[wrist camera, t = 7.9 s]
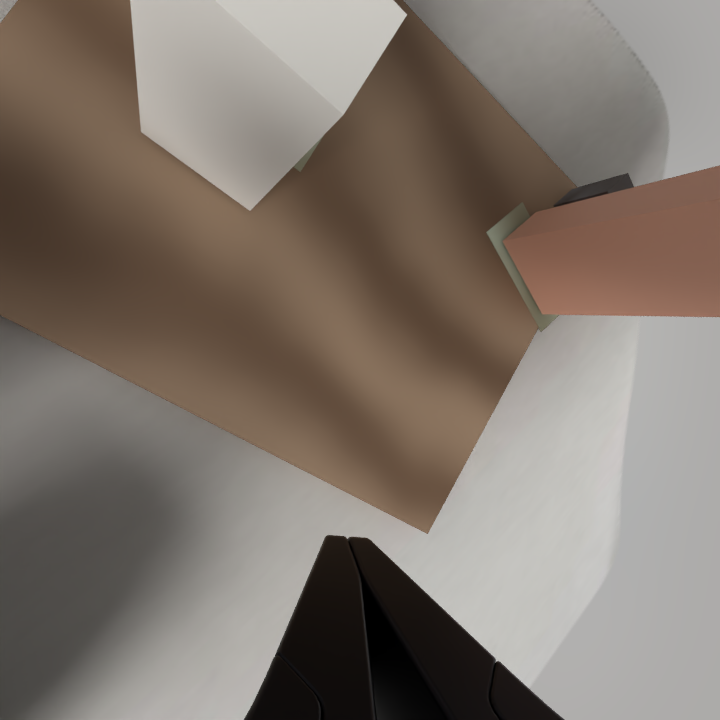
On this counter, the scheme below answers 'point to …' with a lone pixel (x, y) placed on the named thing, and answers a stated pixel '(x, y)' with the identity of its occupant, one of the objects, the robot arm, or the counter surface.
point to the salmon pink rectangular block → (627, 251)
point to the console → (280, 255)
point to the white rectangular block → (252, 80)
